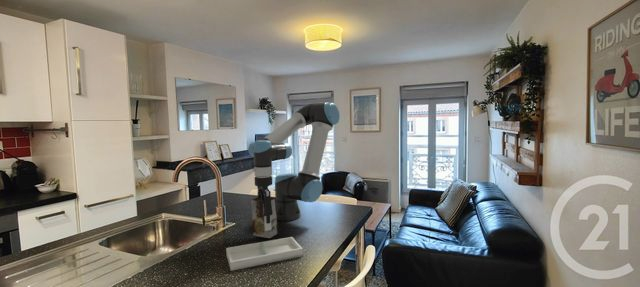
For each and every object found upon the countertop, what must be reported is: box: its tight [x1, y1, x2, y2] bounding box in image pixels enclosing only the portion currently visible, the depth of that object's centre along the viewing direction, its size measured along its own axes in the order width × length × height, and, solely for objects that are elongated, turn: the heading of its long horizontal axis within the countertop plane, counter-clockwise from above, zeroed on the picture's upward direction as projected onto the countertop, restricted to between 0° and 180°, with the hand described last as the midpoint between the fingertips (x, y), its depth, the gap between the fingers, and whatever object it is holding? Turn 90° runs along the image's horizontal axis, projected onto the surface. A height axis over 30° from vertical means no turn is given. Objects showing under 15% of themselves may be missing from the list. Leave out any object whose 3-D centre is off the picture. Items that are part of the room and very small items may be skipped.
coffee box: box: [250, 197, 278, 239], centre depth 128 cm, size 9×6×16 cm
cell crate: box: [225, 236, 304, 272], centre depth 111 cm, size 13×26×3 cm, turn 114°
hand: (264, 225), depth 129 cm, fingers closed on coffee box, 11 cm apart
